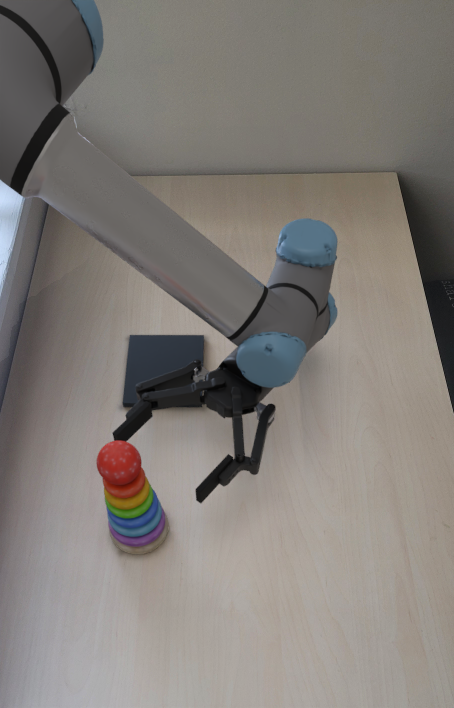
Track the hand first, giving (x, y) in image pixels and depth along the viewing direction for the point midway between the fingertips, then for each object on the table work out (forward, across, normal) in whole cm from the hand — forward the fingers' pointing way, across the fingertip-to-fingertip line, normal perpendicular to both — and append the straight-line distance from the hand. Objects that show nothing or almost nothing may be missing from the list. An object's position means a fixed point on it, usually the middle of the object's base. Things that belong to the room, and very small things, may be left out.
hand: (155, 468), depth 80 cm
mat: (-19, +16, -10) cm, 26 cm away
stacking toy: (+5, 0, -10) cm, 11 cm away
